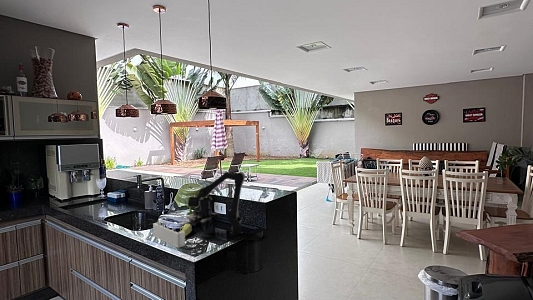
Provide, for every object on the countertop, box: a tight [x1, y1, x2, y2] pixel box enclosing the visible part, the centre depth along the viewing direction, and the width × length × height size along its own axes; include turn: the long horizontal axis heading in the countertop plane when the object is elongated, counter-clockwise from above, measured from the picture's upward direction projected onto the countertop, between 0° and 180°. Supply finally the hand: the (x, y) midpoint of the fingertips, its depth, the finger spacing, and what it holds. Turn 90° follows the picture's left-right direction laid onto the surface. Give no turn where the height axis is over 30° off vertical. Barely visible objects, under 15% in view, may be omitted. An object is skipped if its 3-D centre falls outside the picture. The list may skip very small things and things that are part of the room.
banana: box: [179, 223, 193, 237], centre depth 189 cm, size 14×6×20 cm
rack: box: [152, 220, 186, 249], centre depth 176 cm, size 30×5×11 cm, turn 46°
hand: (205, 231), depth 190 cm, fingers closed
